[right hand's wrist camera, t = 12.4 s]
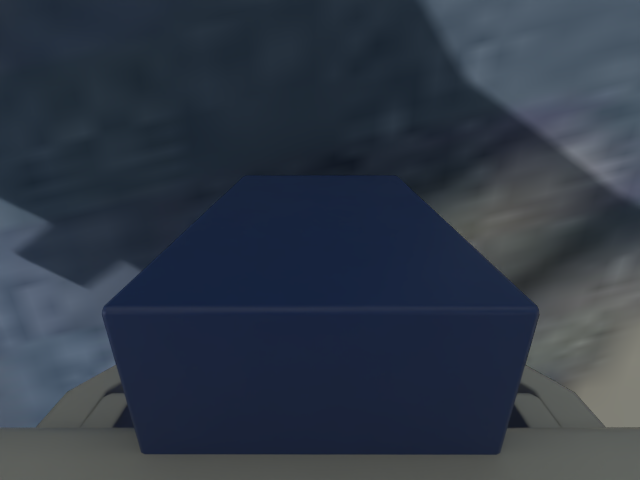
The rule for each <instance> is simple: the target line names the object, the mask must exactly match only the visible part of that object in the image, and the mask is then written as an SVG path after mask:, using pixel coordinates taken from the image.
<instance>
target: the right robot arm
mask: <svg viewBox="0 0 640 480" xmlns="http://www.w3.org/2000/svg"><path fill="white" fill-rule="evenodd" d="M0 480H640V428H606V427H605V426H604V425H603V424H602V423H601V421H600V420H599V419H598V418H597V417H596V416H595V415H594V414H593V412H592V411H591V410H590V409H589V408H588V407H587V406H586V405H585V403H584V402H583V401H582V400H581V399H580V398H579V397H578V395H577V394H576V393H575V392H573V391H571V390H570V389H568V388H566V387H564V386H562V385H561V384H559V383H557V382H555V381H553V380H552V379H550V378H548V377H546V376H544V375H543V374H541V373H539V372H537V371H535V370H534V369H532V368H530V367H528V366H526V365H525V367H524V371H523V374H522V378H521V381H520V385H519V388H518V392H517V395H516V399H515V402H514V406H513V409H512V413H511V417H510V420H509V424H508V427H507V431H506V434H505V438H504V441H503V445H502V448H501V452H500V453H499V454H497V455H314V454H143V453H141V450H140V447H139V443H138V440H137V436H136V433H135V429H134V426H133V422H132V419H131V415H130V412H129V408H128V405H127V401H126V398H125V394H124V391H123V387H122V384H121V380H120V377H119V373H118V369H117V366H116V365H115V366H113V367H111V368H109V369H107V370H106V371H104V372H102V373H100V374H98V375H97V376H95V377H93V378H91V379H89V380H88V381H86V382H84V383H82V384H80V385H79V386H77V387H75V388H73V389H71V390H70V391H68V392H67V393H66V394H65V395H64V396H63V397H62V398H61V400H60V401H59V402H58V403H57V404H56V405H55V406H54V407H53V409H52V410H51V411H50V412H49V413H48V414H47V415H46V416H45V418H44V419H43V420H42V421H41V422H40V423H39V424H38V425H37V427H36V428H0Z"/></svg>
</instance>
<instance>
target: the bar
mask: <svg viewBox="0 0 640 480" xmlns="http://www.w3.org/2000/svg"><path fill="white" fill-rule="evenodd" d="M102 317H103V320H104V324H105V327H106V331H107V334H108V338H109V341H110V345H111V348H112V352H113V355H114V359H115V362H116V366H117V369H118V373H119V377H120V380H121V384H122V387H123V391H124V394H125V398H126V401H127V405H128V408H129V412H130V415H131V419H132V422H133V426H134V429H135V433H136V436H137V440H138V443H139V447H140V450H141V453H143V454H314V455H497V454H499V453H500V452H501V448H502V445H503V441H504V438H505V434H506V431H507V427H508V424H509V420H510V417H511V413H512V409H513V406H514V402H515V399H516V395H517V392H518V388H519V385H520V381H521V378H522V374H523V371H524V367H525V364H526V360H527V357H528V353H529V350H530V346H531V343H532V339H533V335H534V332H535V328H536V325H537V321H538V318H539V309H538V307H537V305H535V304H534V303H533V302H532V301H531V300H530V299H529V298H528V297H527V296H526V295H525V294H524V293H523V292H521V291H520V290H519V289H518V288H517V287H516V286H515V285H514V284H513V283H512V282H511V281H510V280H508V279H507V278H506V277H505V276H504V275H503V274H502V273H501V272H500V271H499V270H498V269H497V268H496V267H494V266H493V265H492V264H491V263H490V262H489V261H488V260H487V259H486V258H485V257H484V256H483V255H482V254H480V253H479V252H478V251H477V250H476V249H475V248H474V247H473V246H472V245H471V244H470V243H469V242H468V241H466V240H465V239H464V238H463V237H462V236H461V235H460V234H459V233H458V232H457V231H456V230H455V229H454V228H452V227H451V226H450V225H449V224H448V223H447V222H446V221H445V220H444V219H443V218H442V217H441V216H440V215H438V214H437V213H436V212H435V211H434V210H433V209H432V208H431V207H430V206H429V205H428V204H427V203H426V202H424V201H423V200H422V199H421V198H420V197H419V196H418V195H417V194H416V193H415V192H414V191H413V190H411V189H410V188H409V187H408V186H407V185H406V184H405V183H404V182H403V181H402V180H401V179H400V178H399V177H397V176H395V175H246V176H244V177H242V178H241V179H240V180H239V181H238V182H237V183H236V184H235V185H234V186H233V187H232V188H231V189H230V190H229V191H227V192H226V193H225V194H224V195H223V196H222V197H221V198H220V199H219V200H218V201H217V202H216V203H215V204H213V205H212V206H211V207H210V208H209V209H208V210H207V211H206V212H205V213H204V214H203V215H202V216H201V217H199V218H198V219H197V220H196V221H195V222H194V223H193V224H192V225H191V226H190V227H189V228H188V229H187V230H185V231H184V232H183V233H182V234H181V235H180V236H179V237H178V238H177V239H176V240H175V241H174V242H173V243H172V244H170V245H169V246H168V247H167V248H166V249H165V250H164V251H163V252H162V253H161V254H160V255H159V256H158V257H156V258H155V259H154V260H153V261H152V262H151V263H150V264H149V265H148V266H147V267H146V268H145V269H144V270H142V271H141V272H140V273H139V274H138V275H137V276H136V277H135V278H134V279H133V280H132V281H131V282H130V283H128V284H127V285H126V286H125V287H124V288H123V289H122V290H121V291H120V292H119V293H118V294H117V295H116V296H114V297H113V298H112V299H111V300H110V301H109V302H108V303H107V304H106V305H105V306H104V308H103V310H102Z"/></svg>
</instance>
